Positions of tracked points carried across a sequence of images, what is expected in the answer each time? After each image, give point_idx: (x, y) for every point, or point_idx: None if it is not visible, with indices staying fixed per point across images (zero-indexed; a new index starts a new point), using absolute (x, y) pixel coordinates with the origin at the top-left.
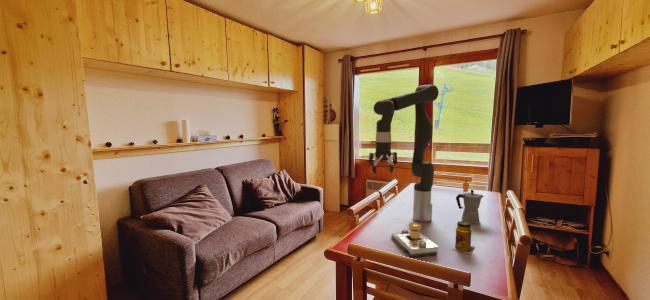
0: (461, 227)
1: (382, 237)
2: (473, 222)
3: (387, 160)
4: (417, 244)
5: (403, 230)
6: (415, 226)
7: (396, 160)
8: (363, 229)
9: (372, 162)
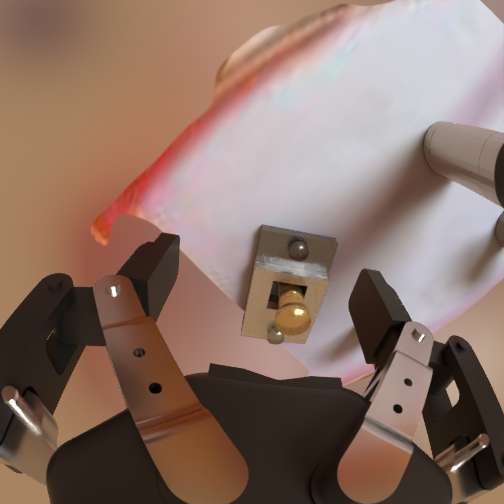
0: (374, 366)
1: (237, 212)
2: (500, 243)
3: (377, 383)
4: (269, 325)
5: (300, 244)
6: (285, 330)
7: (438, 413)
8: (207, 135)
9: (76, 359)
